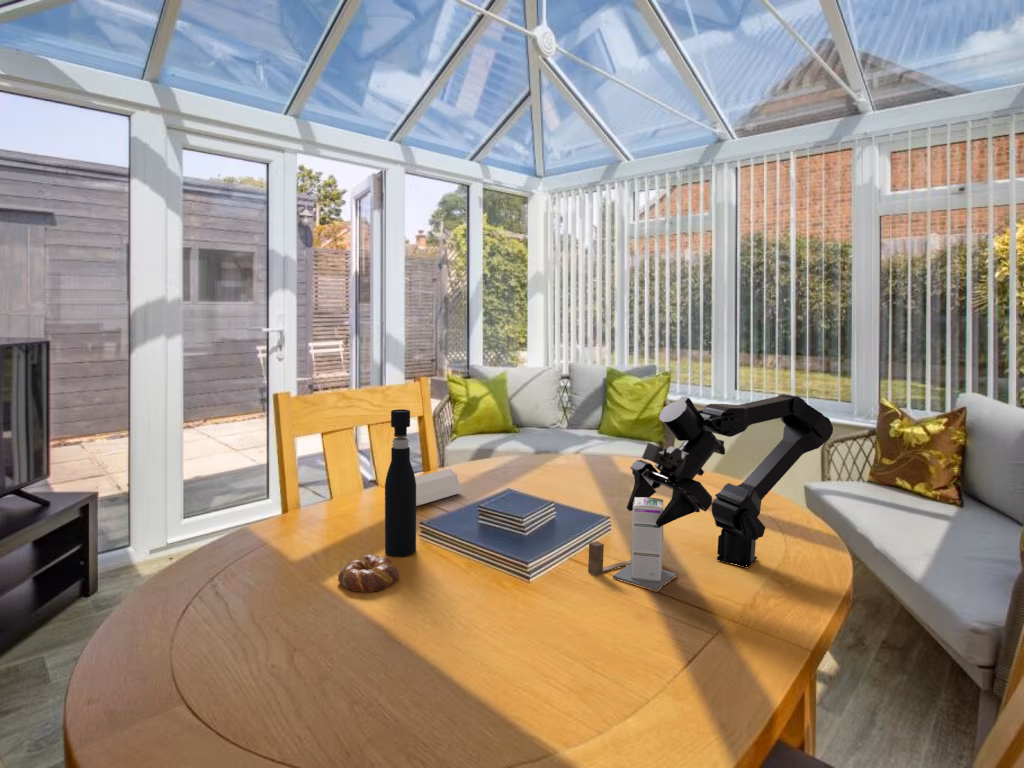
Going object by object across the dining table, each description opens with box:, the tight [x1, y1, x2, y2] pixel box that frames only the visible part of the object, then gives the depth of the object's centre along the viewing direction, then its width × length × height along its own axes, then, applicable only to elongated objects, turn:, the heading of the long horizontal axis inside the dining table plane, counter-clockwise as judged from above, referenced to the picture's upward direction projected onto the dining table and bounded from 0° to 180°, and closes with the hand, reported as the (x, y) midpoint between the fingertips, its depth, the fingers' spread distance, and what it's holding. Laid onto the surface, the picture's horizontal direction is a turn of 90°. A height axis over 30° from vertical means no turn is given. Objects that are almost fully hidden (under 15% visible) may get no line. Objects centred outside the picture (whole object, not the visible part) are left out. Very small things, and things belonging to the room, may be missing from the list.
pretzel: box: [337, 553, 400, 593], centre depth 110 cm, size 12×11×4 cm
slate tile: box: [612, 564, 677, 591], centre depth 114 cm, size 9×9×1 cm
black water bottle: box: [384, 408, 417, 558], centre depth 122 cm, size 6×6×30 cm
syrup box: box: [630, 497, 664, 582], centre depth 113 cm, size 6×6×14 cm
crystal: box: [415, 468, 461, 507], centre depth 159 cm, size 7×7×24 cm
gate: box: [587, 540, 631, 577], centre depth 119 cm, size 16×2×6 cm, turn 122°
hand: (642, 517), depth 112 cm, fingers open, 9 cm apart
